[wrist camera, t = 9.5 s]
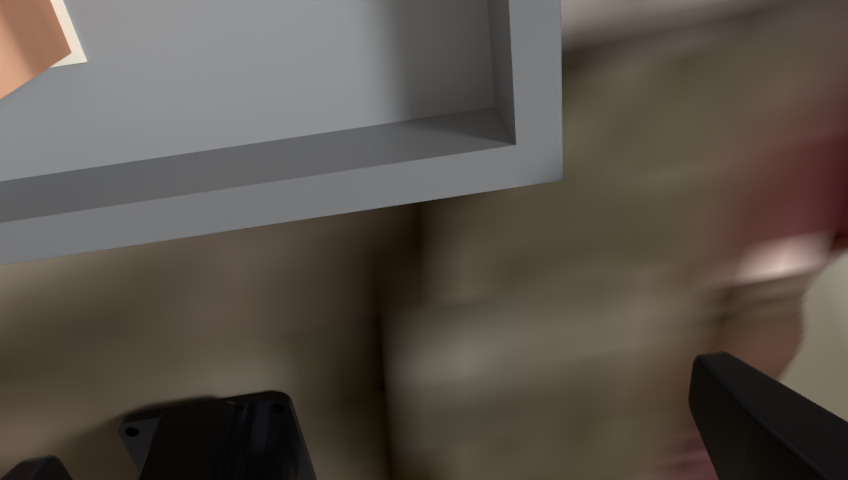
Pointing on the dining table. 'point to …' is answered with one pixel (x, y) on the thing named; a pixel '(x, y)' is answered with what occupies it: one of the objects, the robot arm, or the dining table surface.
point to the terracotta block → (28, 41)
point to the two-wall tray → (272, 115)
